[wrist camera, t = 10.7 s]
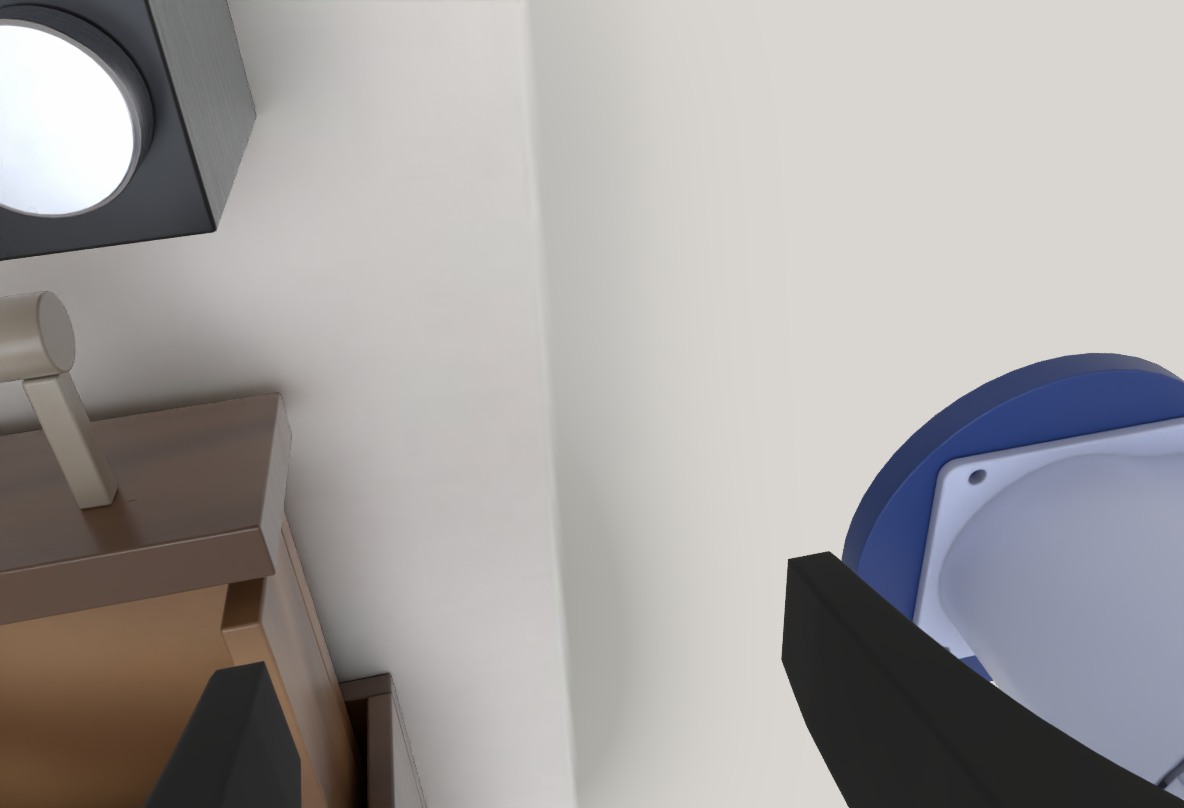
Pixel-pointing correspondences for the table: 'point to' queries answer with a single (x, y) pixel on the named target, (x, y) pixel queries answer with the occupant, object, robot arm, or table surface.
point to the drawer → (145, 585)
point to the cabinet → (383, 743)
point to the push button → (117, 121)
